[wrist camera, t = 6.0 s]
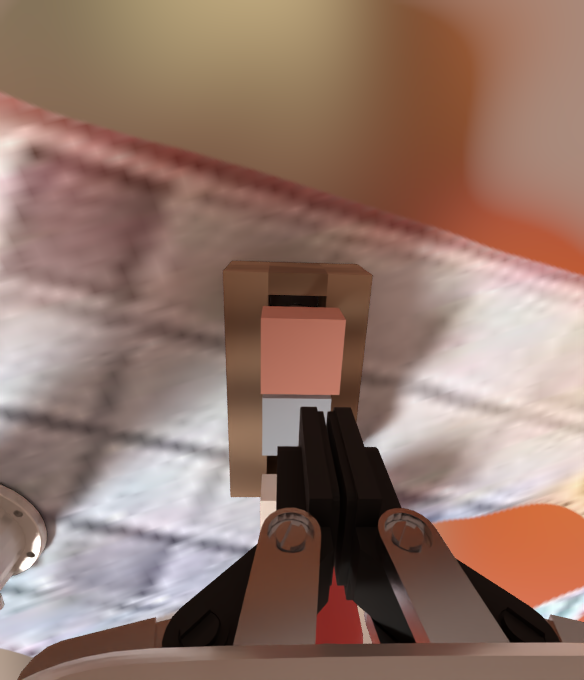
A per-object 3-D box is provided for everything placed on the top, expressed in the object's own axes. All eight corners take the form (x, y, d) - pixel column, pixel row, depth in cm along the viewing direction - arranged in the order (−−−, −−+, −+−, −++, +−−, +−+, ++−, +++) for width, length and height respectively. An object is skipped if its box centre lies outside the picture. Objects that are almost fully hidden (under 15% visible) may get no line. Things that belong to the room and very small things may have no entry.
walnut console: (338, 458, 35) (348, 496, 30) (237, 458, 35) (230, 496, 30) (357, 264, 29) (372, 275, 24) (232, 260, 28) (222, 271, 23)
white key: (315, 474, 31) (325, 551, 24) (264, 474, 31) (260, 551, 24) (317, 431, 29) (329, 500, 23) (264, 431, 29) (260, 500, 22)
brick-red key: (323, 346, 27) (339, 394, 20) (265, 345, 27) (260, 393, 20) (327, 289, 25) (346, 319, 18) (265, 287, 25) (260, 317, 18)
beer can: (322, 566, 40) (338, 705, 29) (271, 546, 39) (268, 683, 28) (354, 528, 38) (386, 660, 27) (303, 505, 37) (313, 634, 26)
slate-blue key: (316, 400, 31) (326, 455, 24) (265, 400, 31) (262, 455, 24) (319, 354, 30) (331, 398, 23) (266, 353, 29) (262, 398, 22)
